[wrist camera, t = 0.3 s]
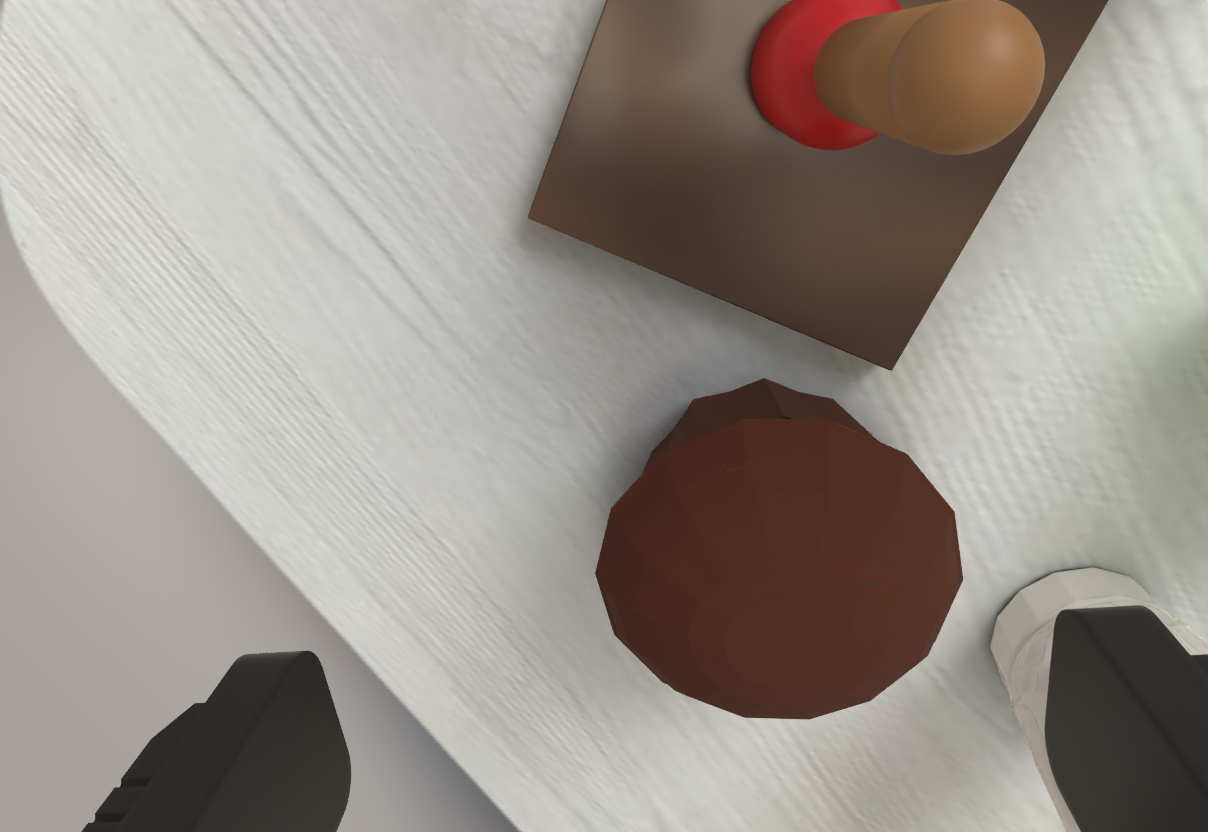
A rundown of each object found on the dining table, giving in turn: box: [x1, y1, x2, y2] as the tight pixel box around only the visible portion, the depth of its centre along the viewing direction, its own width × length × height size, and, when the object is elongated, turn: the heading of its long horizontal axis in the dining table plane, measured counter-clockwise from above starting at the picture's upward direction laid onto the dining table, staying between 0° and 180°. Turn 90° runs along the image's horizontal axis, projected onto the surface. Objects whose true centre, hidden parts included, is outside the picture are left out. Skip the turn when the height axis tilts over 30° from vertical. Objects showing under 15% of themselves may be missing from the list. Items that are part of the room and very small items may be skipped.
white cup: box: [990, 567, 1208, 832], centre depth 31 cm, size 8×8×10 cm
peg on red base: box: [751, 0, 1045, 155], centre depth 20 cm, size 4×4×15 cm
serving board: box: [528, 0, 1108, 370], centre depth 27 cm, size 16×14×1 cm
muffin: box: [595, 378, 963, 719], centre depth 29 cm, size 12×11×10 cm
